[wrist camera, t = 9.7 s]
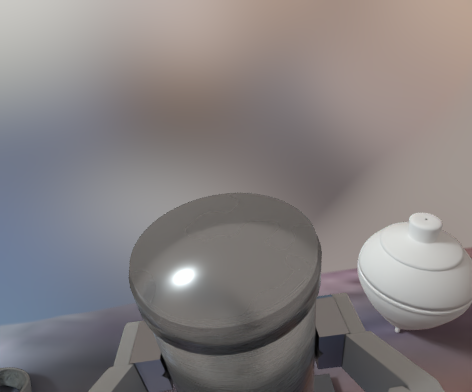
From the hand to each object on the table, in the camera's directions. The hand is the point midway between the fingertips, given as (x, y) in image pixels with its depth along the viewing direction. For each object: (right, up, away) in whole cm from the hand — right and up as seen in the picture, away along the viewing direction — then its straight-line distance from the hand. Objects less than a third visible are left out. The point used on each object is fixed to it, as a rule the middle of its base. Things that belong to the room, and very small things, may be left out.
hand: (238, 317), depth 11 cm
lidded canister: (+1, -5, +2) cm, 6 cm away
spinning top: (+14, -7, +15) cm, 22 cm away
